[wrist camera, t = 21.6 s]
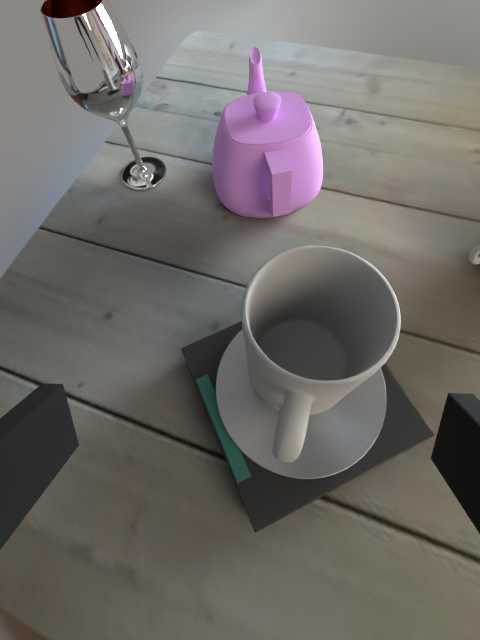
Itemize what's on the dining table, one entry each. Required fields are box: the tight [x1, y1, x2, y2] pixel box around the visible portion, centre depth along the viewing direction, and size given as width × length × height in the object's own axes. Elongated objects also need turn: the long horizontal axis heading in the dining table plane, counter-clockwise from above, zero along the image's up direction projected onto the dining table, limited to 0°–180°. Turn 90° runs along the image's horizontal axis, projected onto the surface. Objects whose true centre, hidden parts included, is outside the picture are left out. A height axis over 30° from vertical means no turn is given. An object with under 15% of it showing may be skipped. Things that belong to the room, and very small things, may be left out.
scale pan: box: [216, 329, 387, 479], centre depth 26 cm, size 14×14×1 cm
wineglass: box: [40, 0, 167, 190], centre depth 35 cm, size 8×8×18 cm
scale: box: [181, 321, 434, 532], centre depth 28 cm, size 16×16×4 cm
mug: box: [241, 245, 401, 462], centre depth 21 cm, size 12×8×11 cm
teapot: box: [212, 48, 323, 218], centre depth 36 cm, size 13×20×11 cm, turn 7°
